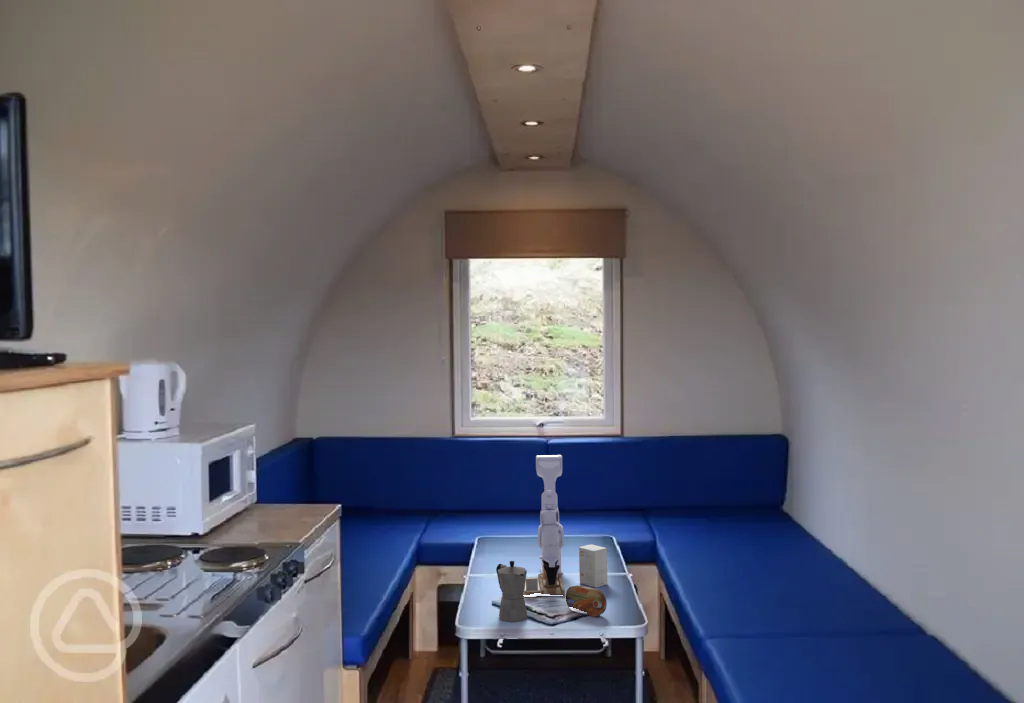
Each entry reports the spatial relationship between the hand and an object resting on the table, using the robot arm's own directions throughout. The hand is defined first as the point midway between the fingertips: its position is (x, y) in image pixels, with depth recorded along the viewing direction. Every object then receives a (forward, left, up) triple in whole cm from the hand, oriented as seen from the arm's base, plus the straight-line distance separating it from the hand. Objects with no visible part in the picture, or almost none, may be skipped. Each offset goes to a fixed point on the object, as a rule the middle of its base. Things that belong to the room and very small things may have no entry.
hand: (551, 582), depth 307 cm
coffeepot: (+28, -14, -2) cm, 32 cm away
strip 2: (-7, 0, -1) cm, 7 cm away
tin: (+27, +10, -3) cm, 29 cm away
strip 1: (0, -7, -1) cm, 7 cm away
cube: (-9, 0, -1) cm, 9 cm away
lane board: (-1, -4, -2) cm, 4 cm away
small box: (-5, +15, -2) cm, 16 cm away
